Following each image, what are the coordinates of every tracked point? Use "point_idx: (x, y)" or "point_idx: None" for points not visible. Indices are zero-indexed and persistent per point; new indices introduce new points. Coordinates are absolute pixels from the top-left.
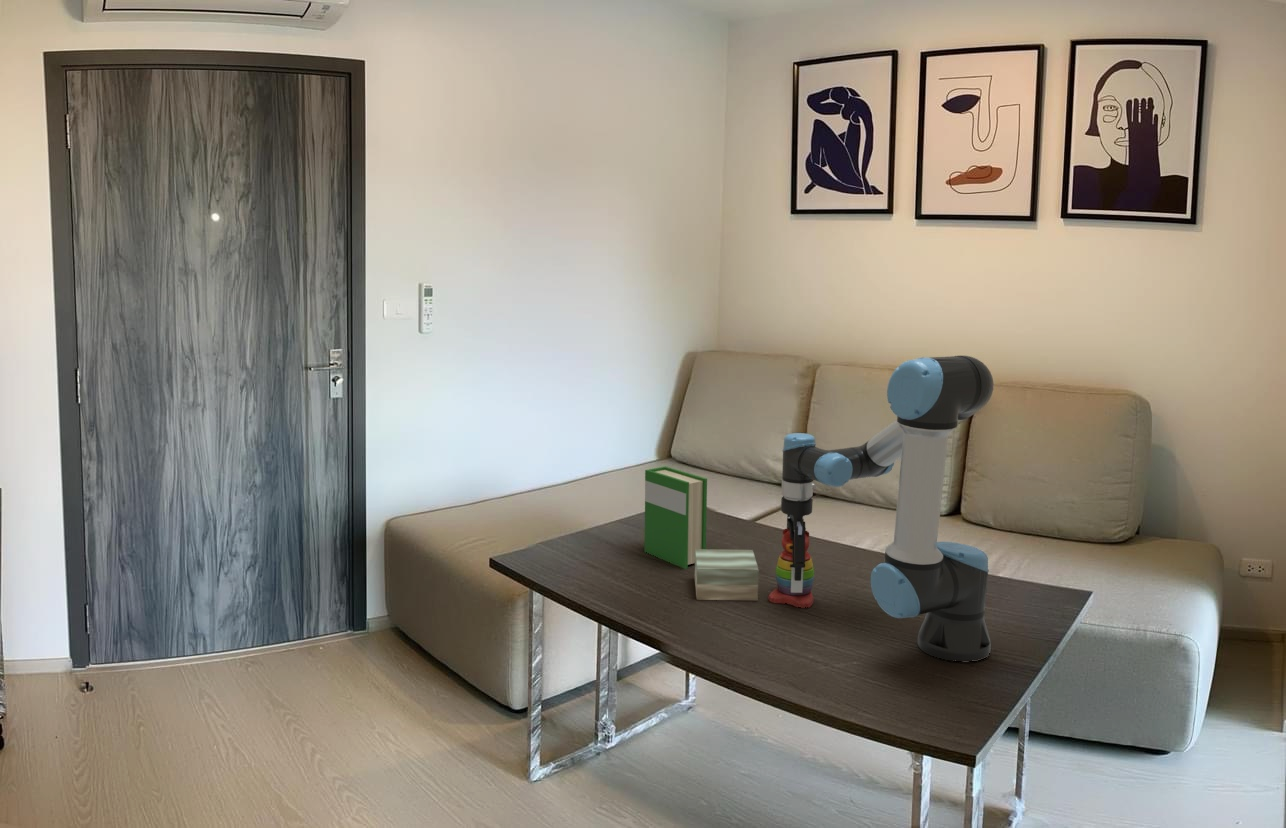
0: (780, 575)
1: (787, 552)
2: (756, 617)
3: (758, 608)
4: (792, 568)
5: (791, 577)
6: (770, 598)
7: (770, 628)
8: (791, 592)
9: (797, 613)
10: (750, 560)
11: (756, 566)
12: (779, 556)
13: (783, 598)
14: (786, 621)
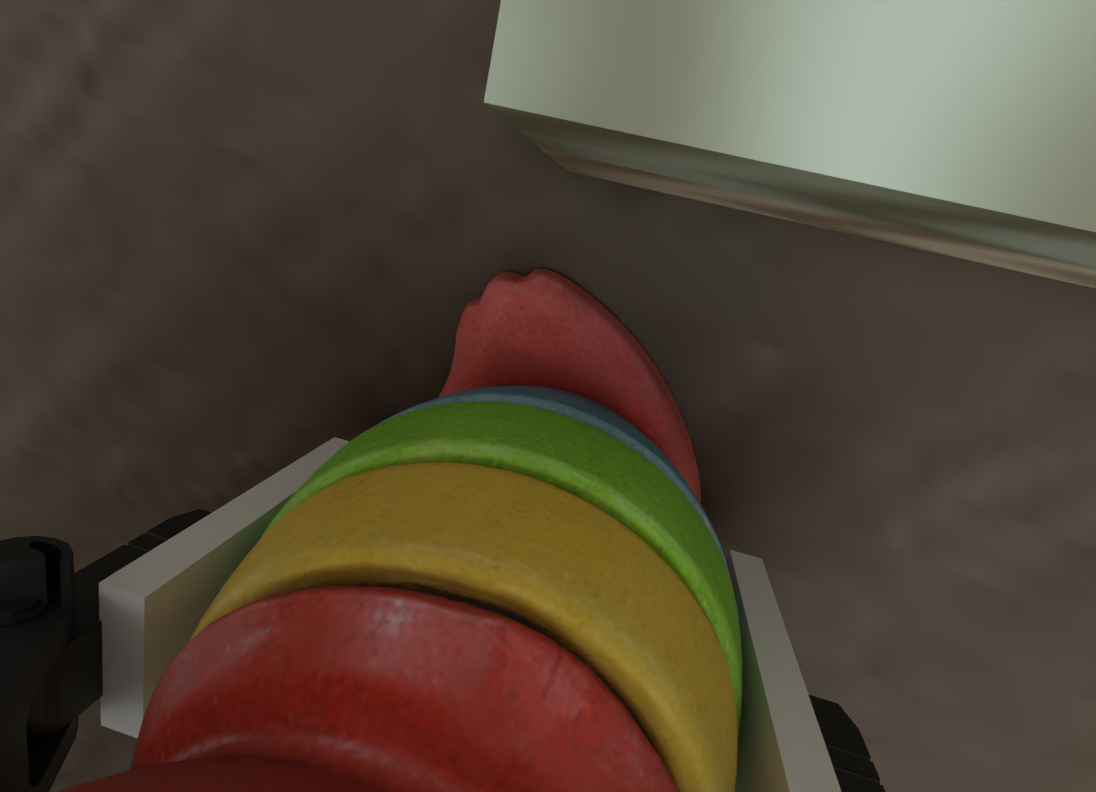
0: (394, 418)
1: (158, 765)
2: (210, 39)
3: (391, 120)
4: (122, 573)
5: (250, 504)
6: (500, 276)
7: (19, 93)
8: (333, 440)
9: (273, 398)
10: (1045, 91)
11: (646, 111)
12: (553, 598)
13: (448, 379)
14: (140, 262)
